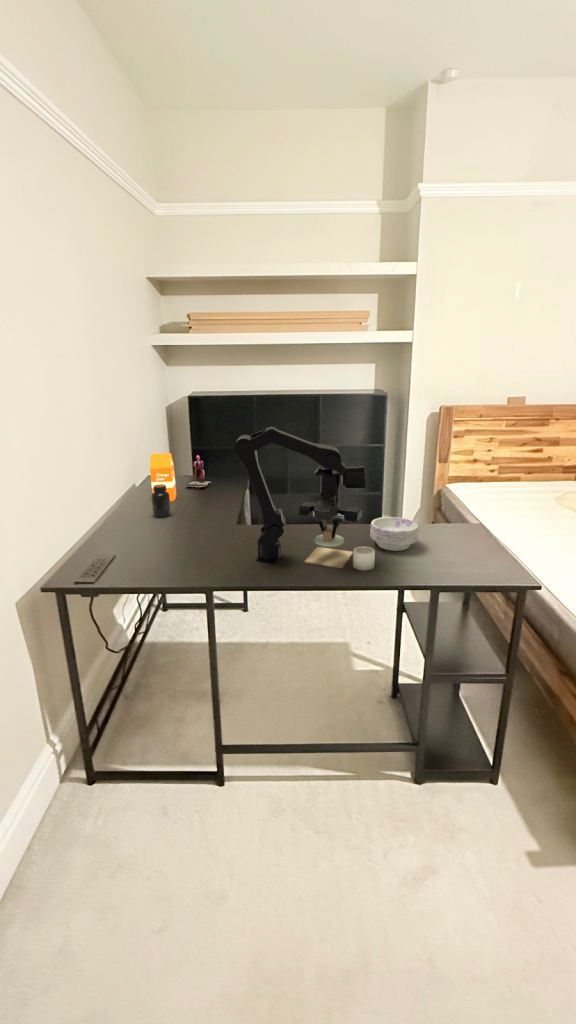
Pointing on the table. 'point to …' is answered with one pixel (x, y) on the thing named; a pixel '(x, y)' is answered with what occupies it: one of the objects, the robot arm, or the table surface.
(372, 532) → the paper bowls
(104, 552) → the table surface
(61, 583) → the table surface
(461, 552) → the table surface
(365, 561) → the ramekin
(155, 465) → the orange juice
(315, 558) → the mat
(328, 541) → the cover
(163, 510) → the supplement bottle
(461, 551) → the table surface
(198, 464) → the statue
